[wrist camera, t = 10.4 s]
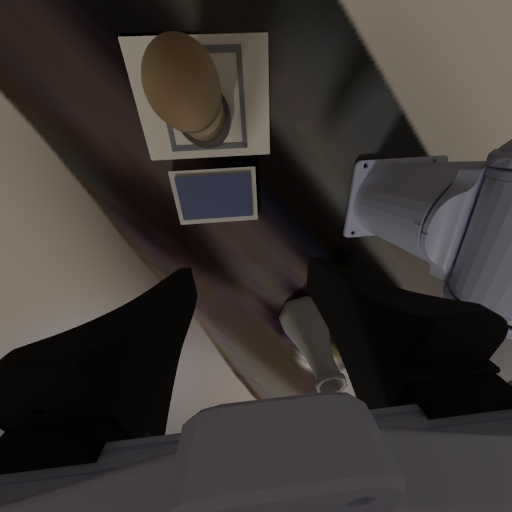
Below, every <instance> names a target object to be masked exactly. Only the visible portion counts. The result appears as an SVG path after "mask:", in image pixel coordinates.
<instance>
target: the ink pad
mask: <svg viewBox="0 0 512 512" xmlns="http://www.w3.org/2000/svg"><path fill="white" fill-rule="evenodd" d="M168 174H169V178H170V182H171V186H172V190H173V194H174V198H175V203H176V207H177V211H178V215H179V219H180V223H181V225H184V224H198V223H212V222H227V221H241V220H255V219H258V214H257V193H256V172H255V167H238V168H221V169H204V170H186V171H170V172H168Z"/></svg>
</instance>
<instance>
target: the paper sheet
mask: <svg viewBox="0 0 512 512" xmlns="http://www.w3.org/2000/svg"><path fill="white" fill-rule="evenodd" d="M190 36H191V37H193V38H195V39H196V40H197V41H198V42H200V43H201V44H202V45H203V46H204V48H205V49H206V50H207V51H208V53H209V55H210V56H211V58H212V60H213V62H214V64H215V66H216V69H217V72H218V76H219V80H220V84H221V93H222V94H223V95H224V97H225V99H226V101H227V103H228V106H229V110H230V116H231V126H230V131H229V133H228V136H227V137H226V139H225V140H224V142H222V143H221V144H220V145H219V146H217V147H214V148H202V147H199V146H197V145H195V144H194V143H192V142H190V141H189V140H188V139H187V138H186V137H185V136H184V135H183V133H182V132H181V131H179V130H176V129H175V128H173V127H171V126H170V125H168V124H167V123H165V122H164V121H163V120H162V119H161V118H160V117H159V116H158V115H157V114H156V113H155V112H154V110H153V109H152V107H151V106H150V104H149V102H148V100H147V98H146V96H145V93H144V90H143V86H142V81H141V63H142V58H143V55H144V52H145V50H146V48H147V46H148V44H149V43H150V42H151V41H152V40H153V39H154V38H155V37H156V36H128V37H118V39H119V43H120V46H121V50H122V54H123V57H124V61H125V65H126V68H127V72H128V76H129V80H130V83H131V87H132V91H133V94H134V98H135V102H136V105H137V109H138V113H139V117H140V120H141V124H142V128H143V131H144V135H145V139H146V142H147V146H148V150H149V154H150V157H151V160H152V161H154V160H172V159H190V158H208V157H226V156H244V155H262V154H270V124H269V60H268V33H233V34H198V35H190Z"/></svg>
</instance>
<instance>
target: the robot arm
mask: <svg viewBox="0 0 512 512" xmlns="http://www.w3.org/2000/svg"><path fill="white" fill-rule="evenodd" d="M432 160H433V162H432ZM365 163H366V167H365V168H364V164H365ZM352 231H354V232H353V233H352V234H351V232H352ZM343 235H344V236H346V237H359V236H372V235H376V236H378V237H380V238H382V239H384V240H386V241H388V242H390V243H392V244H394V245H396V246H398V247H400V248H402V249H404V250H406V251H407V252H409V253H411V254H413V255H415V256H417V257H419V258H421V259H423V260H425V261H427V262H429V264H430V274H432V275H434V276H436V277H437V278H439V279H441V280H443V281H444V282H445V284H444V287H443V293H444V297H445V298H440V297H435V296H430V295H425V294H420V293H416V292H411V291H407V290H403V289H400V288H396V287H392V286H389V285H386V284H382V283H379V282H377V281H374V280H371V279H368V278H365V277H363V276H360V275H358V274H356V273H353V272H351V271H349V270H347V269H344V268H342V267H340V266H338V265H336V264H334V263H332V262H330V261H328V260H325V259H323V258H321V257H311V258H309V262H308V274H307V288H308V290H309V293H310V296H311V298H312V300H313V302H314V304H315V306H316V307H317V309H318V311H319V313H320V315H321V316H322V318H323V320H324V322H325V323H326V325H327V327H328V329H329V331H330V333H331V335H332V337H333V339H334V341H335V344H336V346H337V348H338V351H339V353H340V356H341V358H342V361H343V363H344V365H345V368H346V371H347V373H348V376H349V379H350V381H351V383H352V387H353V389H354V392H355V395H356V397H354V396H352V395H350V394H348V393H342V392H321V393H313V394H304V395H296V396H287V397H279V398H270V399H262V400H254V401H245V402H237V403H228V404H221V405H218V406H214V407H210V408H207V409H203V410H201V411H200V412H199V413H197V414H196V415H194V416H193V417H192V418H190V419H189V420H188V421H187V422H186V423H185V424H183V427H182V431H181V433H178V434H170V435H165V431H166V425H167V418H168V412H169V407H170V401H171V396H172V390H173V385H174V380H175V376H176V371H177V366H178V362H179V357H180V353H181V349H182V346H183V342H184V340H185V337H186V334H187V331H188V328H189V325H190V322H191V319H192V316H193V313H194V310H195V306H196V301H197V291H196V287H195V283H194V279H193V274H192V270H191V267H190V268H180V269H178V270H177V271H175V272H174V273H172V274H171V275H169V276H168V277H167V278H165V279H164V280H162V281H161V282H160V283H158V284H157V285H155V286H154V287H152V288H151V289H149V290H148V291H146V292H145V293H144V294H142V295H140V296H139V297H137V298H135V299H134V300H132V301H130V302H128V303H126V304H125V305H123V306H121V307H119V308H117V309H115V310H113V311H111V312H109V313H107V314H105V315H103V316H101V317H98V318H96V319H94V320H92V321H90V322H87V323H85V324H82V325H80V326H78V327H75V328H73V329H70V330H68V331H65V332H63V333H60V334H57V335H55V336H52V337H49V338H46V339H43V340H40V341H37V342H34V343H31V344H28V345H25V346H23V347H19V348H16V349H14V350H12V351H11V352H9V353H8V354H7V355H5V356H4V357H3V358H2V359H1V360H0V429H1V430H3V431H5V432H4V433H3V435H2V436H1V437H0V512H512V380H511V381H509V382H508V383H507V382H506V381H504V380H503V379H502V378H501V377H500V376H498V375H497V374H496V373H499V372H500V368H499V367H498V366H496V365H495V364H494V363H493V362H491V361H490V360H489V359H490V357H491V356H492V355H493V354H494V352H495V351H496V350H497V348H498V347H499V346H500V345H501V343H502V342H503V341H504V339H505V337H506V338H509V339H511V340H512V140H510V141H508V142H507V143H506V144H504V145H502V146H501V147H500V148H498V149H495V150H493V151H492V152H490V153H489V155H488V157H487V160H486V161H472V162H448V157H447V156H428V157H411V158H393V159H376V160H360V161H358V162H356V164H355V166H354V171H353V177H352V183H351V189H350V195H349V201H348V207H347V213H346V219H345V225H344V231H343Z"/></svg>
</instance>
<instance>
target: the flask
mask: <svg viewBox="0 0 512 512" xmlns="http://www.w3.org/2000/svg"><path fill="white" fill-rule="evenodd" d="M278 318H279V320H280V322H281V325H282V327H283V329H284V331H285V332H286V334H287V335H288V336H289V337H290V339H291V340H292V341H293V342H294V344H295V345H296V346H297V347H298V349H299V350H300V351H301V353H302V354H303V355H304V357H305V358H306V359H307V361H308V363H309V365H310V367H311V369H312V371H313V372H314V375H315V378H316V382H315V386H316V389H317V391H318V393H321V392H342V391H343V390H344V389H345V388H346V387H347V381H346V378H345V376H344V374H342V373H340V371H339V370H338V368H337V365H336V363H335V361H334V358H333V355H332V351H331V345H330V338H329V329H328V327H327V325H326V323H325V322H324V320H323V318H322V316H321V315H320V313H319V311H318V309H317V307H316V306H315V304H314V302H313V300H312V298H311V297H308V296H303V297H300V298H297V299H294V300H291V301H288V302H285V304H284V307H283V309H282V311H281V313H280V315H279V317H278Z"/></svg>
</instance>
